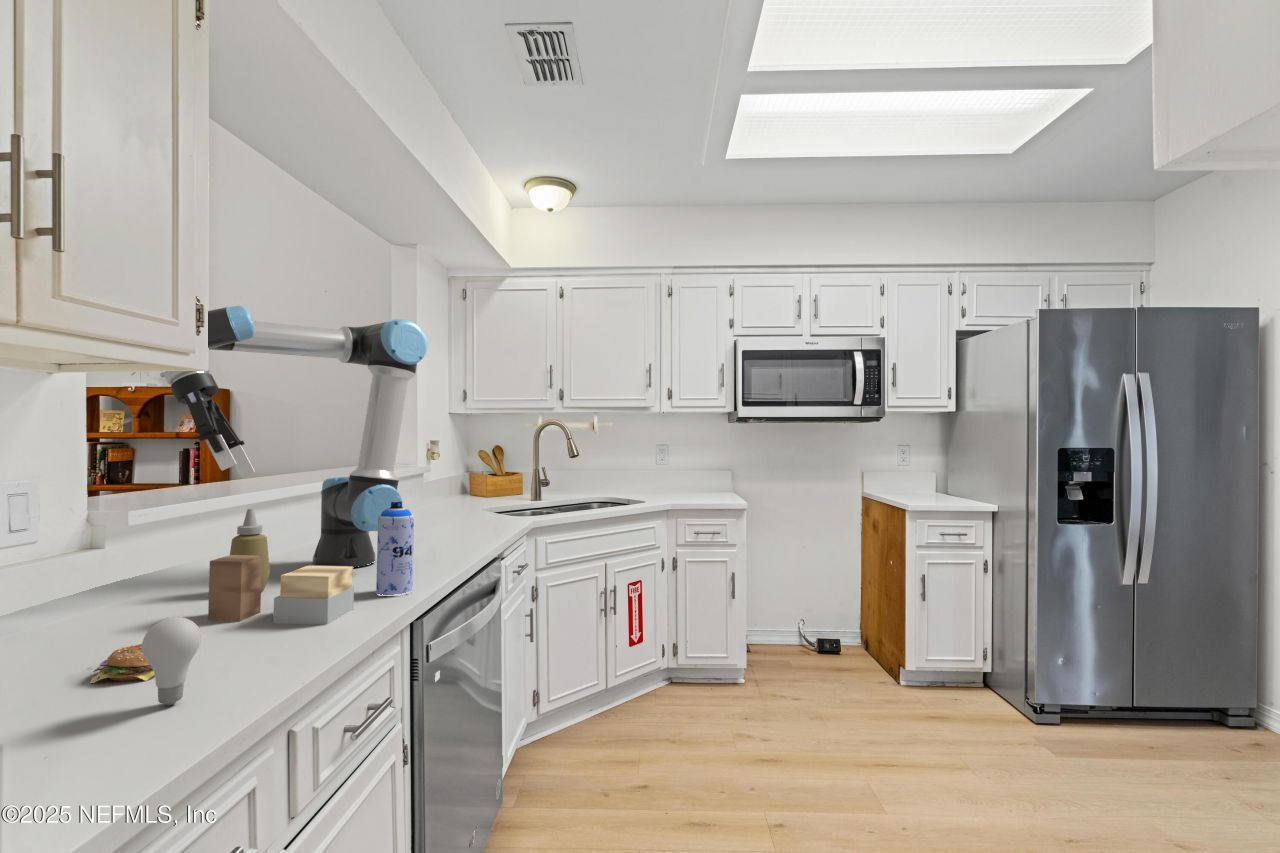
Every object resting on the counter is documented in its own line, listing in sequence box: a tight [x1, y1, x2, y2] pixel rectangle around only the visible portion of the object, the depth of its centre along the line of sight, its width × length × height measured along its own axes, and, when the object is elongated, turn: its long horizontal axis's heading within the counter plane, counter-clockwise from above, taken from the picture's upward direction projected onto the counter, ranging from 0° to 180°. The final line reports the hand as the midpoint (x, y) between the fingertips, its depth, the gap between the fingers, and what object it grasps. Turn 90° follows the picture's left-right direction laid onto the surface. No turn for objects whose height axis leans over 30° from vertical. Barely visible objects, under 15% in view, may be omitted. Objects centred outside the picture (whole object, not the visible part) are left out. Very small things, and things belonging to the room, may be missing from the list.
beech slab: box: [279, 565, 354, 598], centre depth 122 cm, size 9×9×4 cm
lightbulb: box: [141, 616, 202, 707], centre depth 81 cm, size 6×6×11 cm
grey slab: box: [273, 585, 355, 625], centre depth 121 cm, size 10×10×5 cm
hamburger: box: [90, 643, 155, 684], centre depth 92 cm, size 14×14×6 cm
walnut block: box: [207, 554, 262, 623], centre depth 120 cm, size 6×6×11 cm
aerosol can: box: [375, 500, 415, 595], centre depth 140 cm, size 8×8×20 cm
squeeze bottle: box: [229, 508, 271, 593], centre depth 138 cm, size 8×8×18 cm
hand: (239, 471), depth 130 cm, fingers open, 13 cm apart
